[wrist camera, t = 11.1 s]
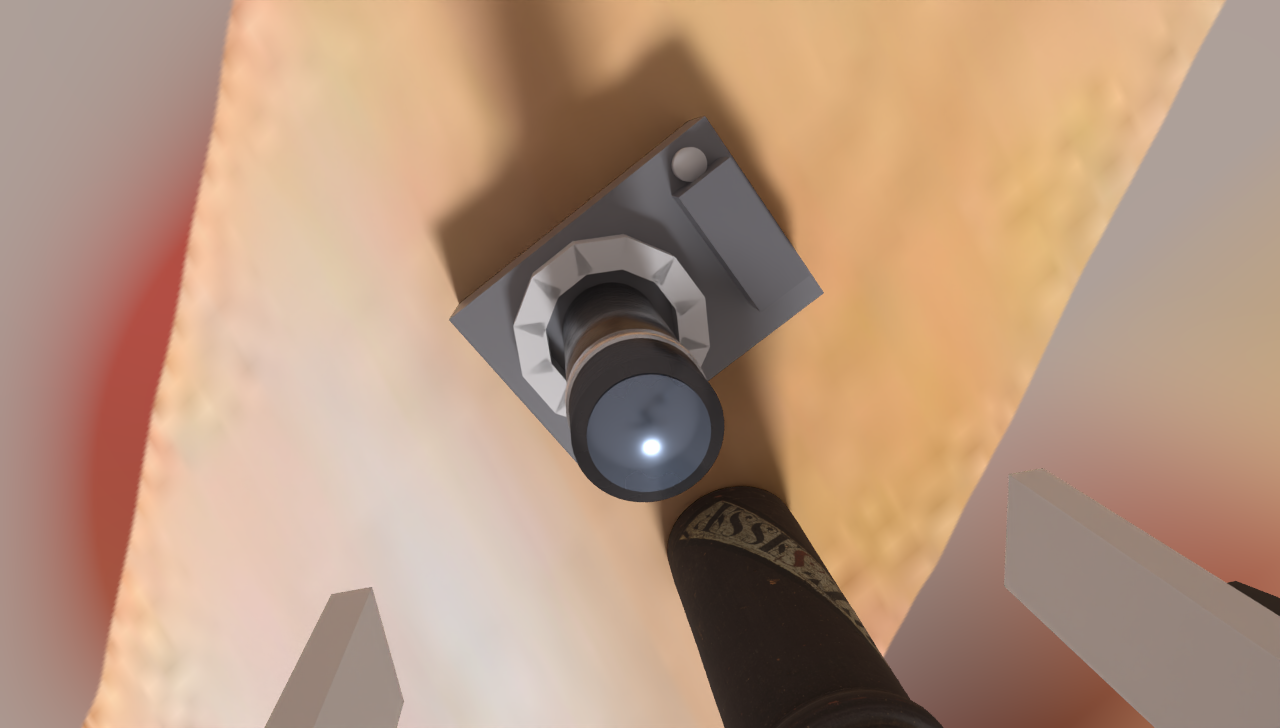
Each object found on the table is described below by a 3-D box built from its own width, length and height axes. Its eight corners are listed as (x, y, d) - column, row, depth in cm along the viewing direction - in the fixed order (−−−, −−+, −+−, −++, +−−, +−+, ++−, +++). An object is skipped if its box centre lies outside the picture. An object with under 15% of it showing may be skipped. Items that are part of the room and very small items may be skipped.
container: (822, 527, 45) (1021, 793, 26) (732, 623, 46) (860, 944, 27) (727, 454, 43) (869, 688, 24) (634, 558, 44) (700, 859, 25)
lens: (553, 287, 35) (555, 370, 21) (655, 273, 35) (722, 345, 21) (568, 385, 36) (580, 520, 23) (666, 370, 37) (735, 494, 23)
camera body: (689, 120, 37) (714, 113, 31) (797, 280, 40) (839, 300, 35) (458, 304, 38) (443, 329, 32) (582, 444, 41) (588, 490, 36)
